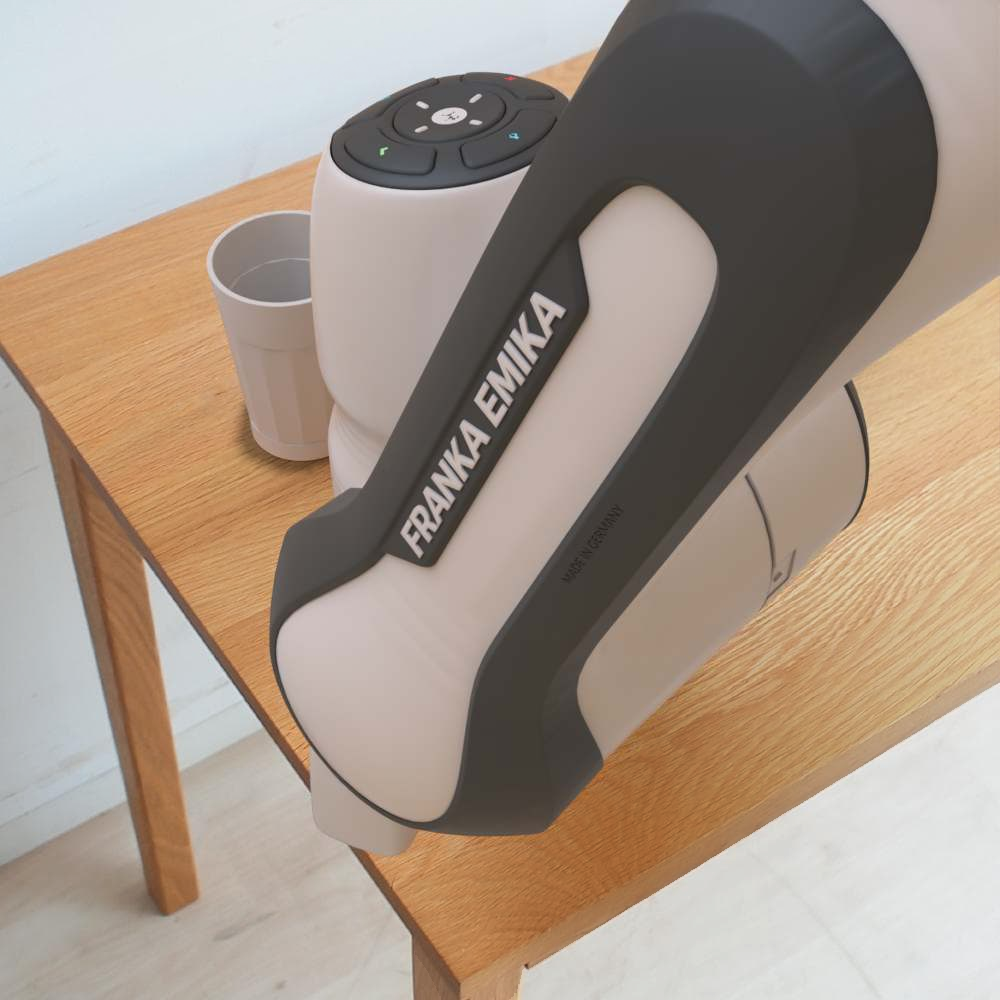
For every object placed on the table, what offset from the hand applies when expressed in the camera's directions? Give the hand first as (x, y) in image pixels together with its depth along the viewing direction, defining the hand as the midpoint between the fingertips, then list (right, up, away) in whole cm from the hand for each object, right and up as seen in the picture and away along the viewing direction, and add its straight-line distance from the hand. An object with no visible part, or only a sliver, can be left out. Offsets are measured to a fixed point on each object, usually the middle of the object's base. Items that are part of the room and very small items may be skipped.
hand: (462, 712), depth 62 cm
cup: (-10, +14, +22) cm, 27 cm away
